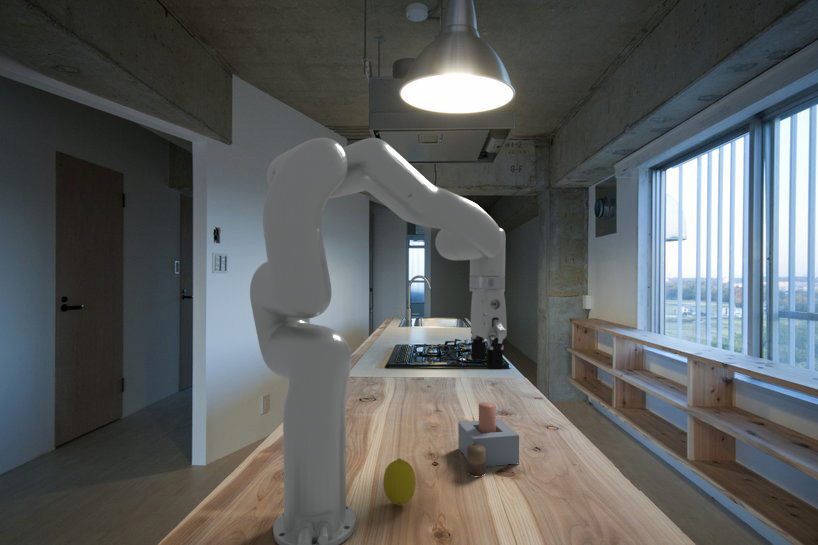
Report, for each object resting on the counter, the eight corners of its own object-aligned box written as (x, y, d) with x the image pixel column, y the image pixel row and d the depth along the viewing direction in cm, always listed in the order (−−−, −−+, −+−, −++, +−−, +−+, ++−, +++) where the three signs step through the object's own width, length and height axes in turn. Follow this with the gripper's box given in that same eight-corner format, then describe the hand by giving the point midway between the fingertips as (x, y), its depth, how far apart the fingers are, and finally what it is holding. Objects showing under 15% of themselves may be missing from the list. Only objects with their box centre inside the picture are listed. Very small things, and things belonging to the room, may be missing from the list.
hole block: (519, 464, 91) (519, 435, 91) (473, 468, 89) (473, 438, 89) (500, 445, 100) (500, 419, 100) (458, 448, 99) (458, 421, 98)
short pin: (488, 476, 85) (488, 450, 85) (470, 478, 85) (470, 452, 85) (481, 468, 89) (481, 443, 89) (464, 469, 88) (464, 444, 88)
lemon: (397, 494, 79) (397, 449, 79) (422, 504, 75) (422, 458, 75) (376, 506, 74) (376, 460, 74) (401, 518, 71) (401, 469, 71)
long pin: (498, 458, 93) (498, 407, 93) (482, 459, 93) (482, 408, 93) (491, 451, 97) (491, 402, 97) (476, 452, 96) (476, 403, 96)
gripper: (520, 286, 86) (519, 372, 86) (488, 284, 103) (487, 356, 103) (484, 285, 85) (483, 373, 85) (458, 283, 102) (457, 357, 102)
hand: (486, 364), depth 94 cm, fingers open, 9 cm apart
